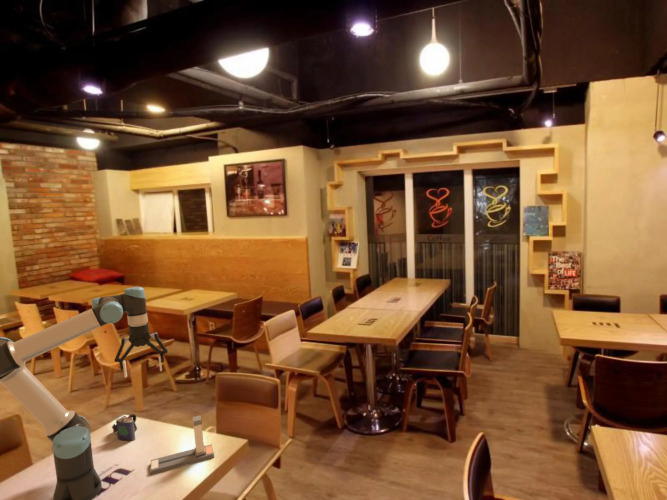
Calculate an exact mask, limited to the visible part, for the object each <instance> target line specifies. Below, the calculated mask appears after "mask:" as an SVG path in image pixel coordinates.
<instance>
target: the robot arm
mask: <svg viewBox="0 0 667 500" xmlns="http://www.w3.org/2000/svg"><path fill="white" fill-rule="evenodd" d="M91 307H92V308H90V309H87V310H85V311H82V312H81V313H79V314H75V315H74V316H72V317H70V318H67V319H64V320H62V321H60V322H58V323H56V324H53V325H50V326H49V327H46V328H44V329H42V330H39V331H37V332H35V333H32V334H30V335H28V336H26V337H24V338H21V339H18V340H16V341H14V340H11V339H10V338H8V337H5V336H0V384H1V385H2V386H3V387H4V388H5V389H6V390H7V392H9V393H10V394H11V396H13V397H14V398H15V400H17V401H18V403H20V404H21V405H22V406H23V407H24V408H25V410H27V412H29V414H30V415H32V417H34V418H35V420H37V422H39V423H40V424H41V425H42V427H43V428H45V431H44V435H45V437H46V438H48V439H49V440H50V442H52V446H51V451H52V454H53V460H54V469H55V476H56V483H55V488H54V493H53V496H52V497H53V498H52V499H53V500H92V499H94V498H95V497H96V496H97V495H99V493H100V492H101V490H102V488H103V487H102V478H101V477H100V476H99V473H98V472H97V471H96V468H95V466H94V458H93V449H92V437H91V435H92V434H91V426H90V423H89V420H87V419H86V418H85V417H84V416H83V415H79V414H78V413H77V412H76V411H75V410H67V409H66V408H65V407H64V405H63V404H61V402H60V401H59V400H58V399H57V398H56V397H55V396H54V395H53V394H52V392H50V391H49V390H48V389H47V388H46V386H45V385H44V384H42V382H41V381H40V380H39V379H38V378H37V377H36V376H35V375H34V374H33V373H32V372H31V371H30V369H28V368H27V367H26V362H27V361H30V360H32V359H34V358H37V357H39V356H41V355H42V354H45V353H47V352H49V351H51V350H53V349H56V348H58V347H60V346H62V345H64V344H67V343H69V342H71V341H73V340H75V339H77V338H79V337H82V336H83V335H86V334H89V333H90V332H92V331H93V332H94V330H97V329H98V328H101V327H104V326H105V325H107V324H116V323H118V322H119V321H120V320H121V319H122V318H123V315H124V313H126V319H127V325H128V327H127V328H128V334H129V337H121V340H120V345H119V348H118V351H117V353H116V355H115V357H114V362H115V363H119V367H120V371H123V375H124V376H123V377H124V379H125V378H128V372H127V363H126V362H127V361H126V360H125V359H126V358H127V356H128V355H129V354H130V353H131V351H132V350H133V348H135V347H136V348H139V347H144V346H146V345H147V347H150V349H152V350H153V351H154V352H155V353H158V364H159V372H162V371H163V366H162V363H164V362H165V357H164V355H166V354H168V348H167V347H166V346H165V344H164V343H163V341H162V339H160V337H159V334H158V332H156V331H155V332H154V333H150V330H149V329H150V328H149V323H148V322H149V318H148V312H147V311H148V309H147V297H146V292H145V289H144V287H142V286H132V287H127V288H125V289H124V291H123V293H122V294H116V295H108V296H100V297H94V298H92V299H91ZM151 338H152V339H153V340H154V339H155V341H156V343H157V344H158V346H159V347H160V348H161V349H160V348H159V347H158V346H157V345H155V344H154V343H153V342H152V341H151ZM127 342H129V343H130V345H129V346H128V347H127V349H126V350H125V351H124V353H123V354H122V352H123V349H124V346H125V344H127ZM121 354H122V355H121ZM120 356H121V357H120Z"/></svg>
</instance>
